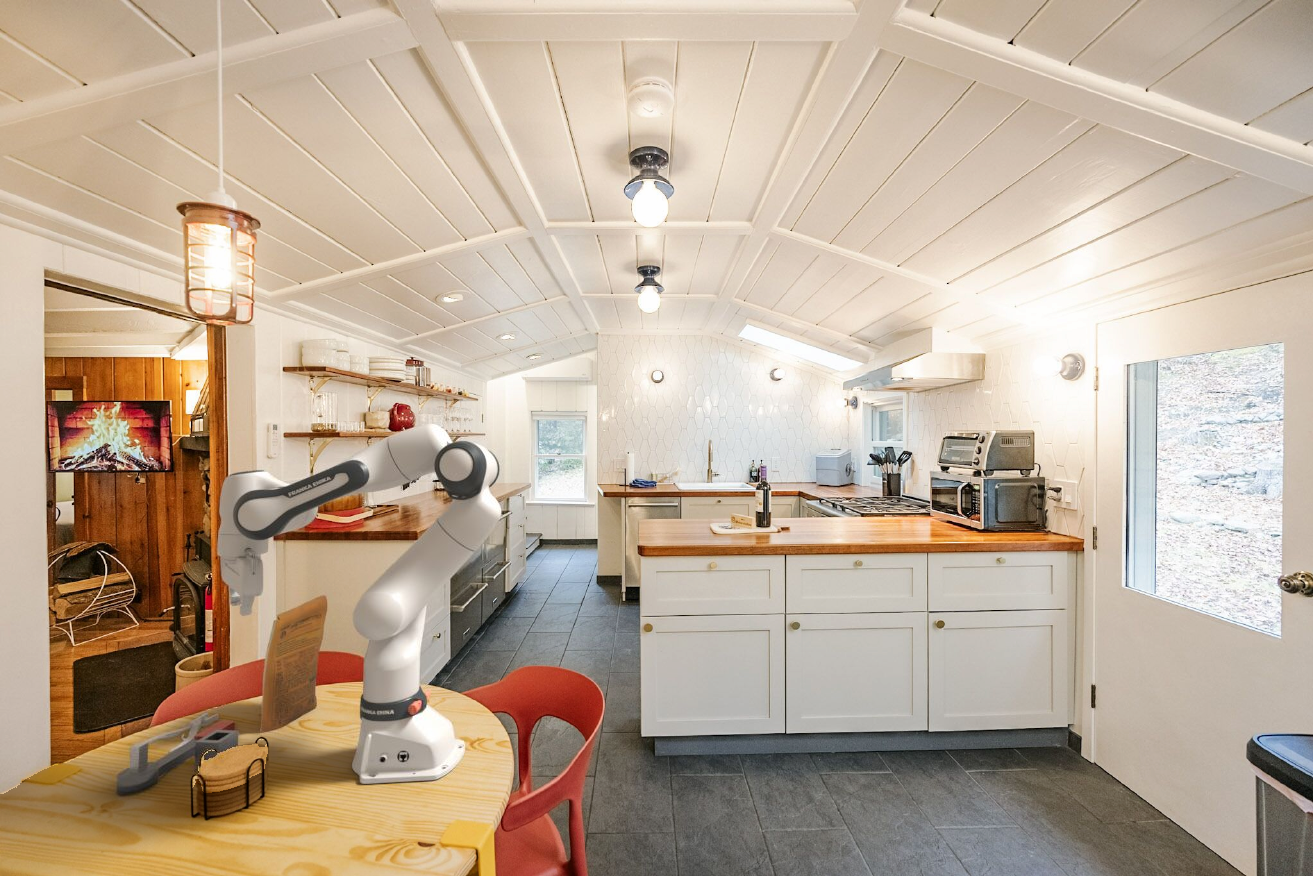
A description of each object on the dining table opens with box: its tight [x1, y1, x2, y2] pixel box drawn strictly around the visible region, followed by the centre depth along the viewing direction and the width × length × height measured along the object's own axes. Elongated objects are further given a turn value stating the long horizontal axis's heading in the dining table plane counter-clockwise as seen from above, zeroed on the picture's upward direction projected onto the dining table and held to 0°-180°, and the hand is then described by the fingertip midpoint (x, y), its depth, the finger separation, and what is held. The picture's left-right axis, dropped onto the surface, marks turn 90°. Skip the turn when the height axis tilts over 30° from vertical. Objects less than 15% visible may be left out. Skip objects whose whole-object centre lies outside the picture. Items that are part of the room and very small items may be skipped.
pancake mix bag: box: [259, 594, 328, 733], centre depth 137 cm, size 7×19×28 cm, turn 169°
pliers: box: [143, 712, 220, 754], centre depth 128 cm, size 10×2×15 cm
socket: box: [194, 730, 240, 773], centre depth 116 cm, size 5×5×6 cm
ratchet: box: [116, 720, 236, 797], centre depth 117 cm, size 6×24×8 cm, turn 176°
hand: (240, 609), depth 120 cm, fingers open, 8 cm apart
